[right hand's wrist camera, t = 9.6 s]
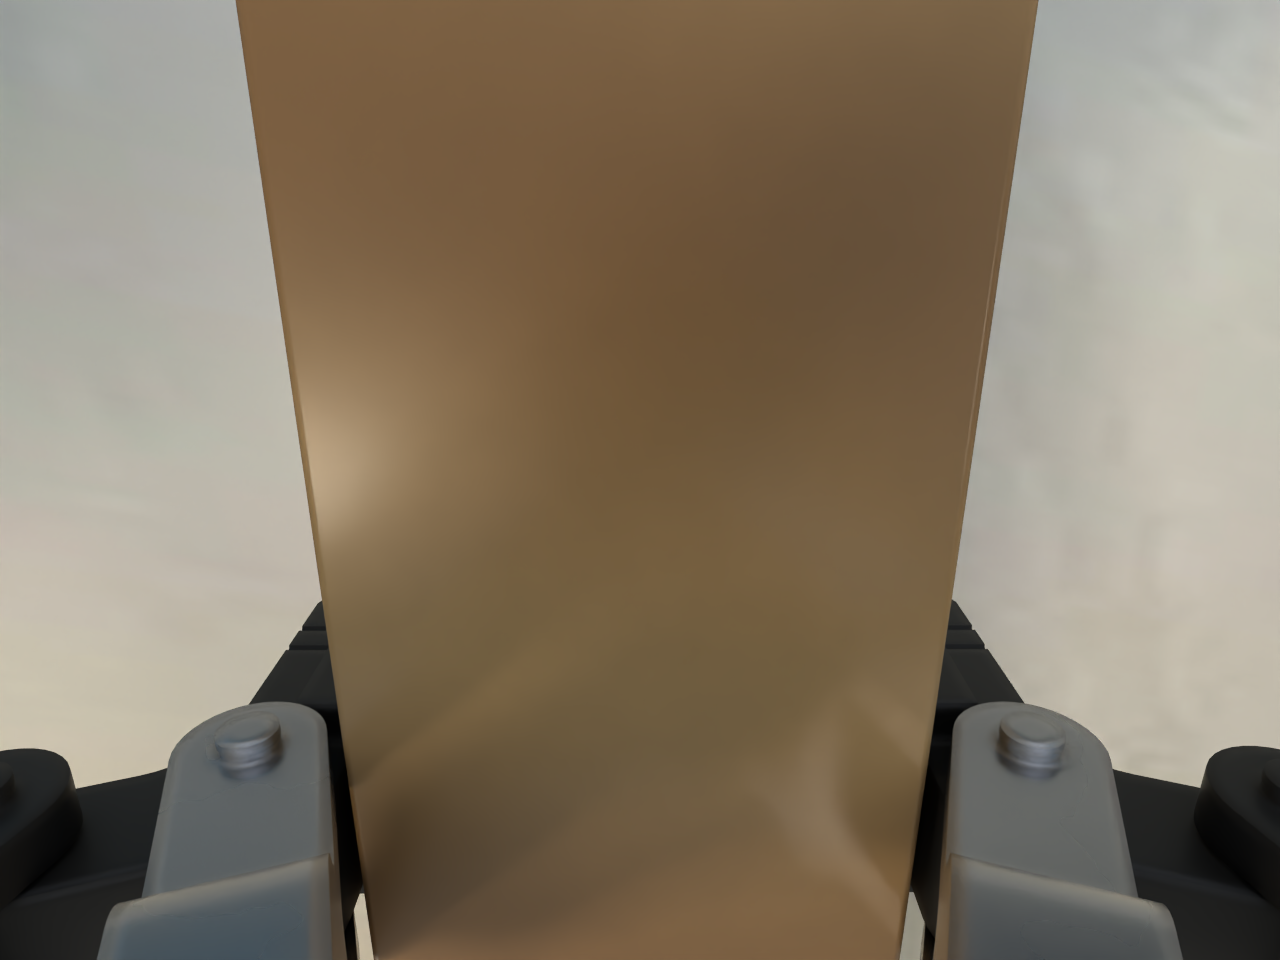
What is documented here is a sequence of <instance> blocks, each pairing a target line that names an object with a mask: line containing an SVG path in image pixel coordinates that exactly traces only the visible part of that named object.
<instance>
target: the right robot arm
mask: <svg viewBox="0 0 1280 960" xmlns="http://www.w3.org/2000/svg"><path fill="white" fill-rule="evenodd" d="M984 645H985V644H984V643H983V641H982V640H981V638H980V637H979V635H978V634H977V632H976V631H975V630H972V625H971V623H970V622H969V620H968V619H967V617H966V616H965V615H964V613H963V612H962V610H961V609H960V607H959V606H958V604H957V603H956V602H955V601H953V600H951V607H950V614H949V621H948V628H947V635H946V642H945V649H944V655H943V662H942V669H941V676H940V683H939V690H938V697H937V704H936V711H935V718H934V724H933V731H932V738H931V745H930V752H929V759H928V766H927V773H926V780H925V787H924V793H923V800H922V807H921V814H920V821H919V828H918V835H917V842H916V849H915V855H914V862H913V869H912V876H911V883H910V890H909V892H914V895H915V897H916V900H917V903H918V906H919V908H920V911H921V914H922V917H923V919H924V921H925V922H924V928H923V935H922V942H921V953H920V960H1280V749H1274V748H1269V747H1259V746H1239V747H1231V748H1227V749H1224V750H1221V751H1219V752H1217V753H1215V754H1214V755H1213V756H1212V757H1211V758H1210V759H1209V761H1208V763H1207V766H1206V769H1205V773H1204V777H1203V780H1202V784H1201V788H1198V787H1193V786H1188V785H1183V784H1178V783H1173V782H1168V781H1163V780H1158V779H1154V778H1149V777H1144V776H1139V775H1134V774H1130V773H1126V772H1122V771H1117V770H1114V769H1112V764H1111V759H1110V756H1109V754H1108V751H1107V750H1106V748H1105V747H1104V745H1103V744H1102V743H1101V742H1100V740H1099V739H1098V738H1097V737H1096V736H1095V735H1094V734H1092V733H1091V732H1090V731H1089V730H1088V729H1086V728H1085V727H1083V726H1082V725H1080V724H1079V723H1077V722H1075V721H1074V720H1072V719H1070V718H1068V717H1066V716H1064V715H1061V714H1059V713H1056V712H1054V711H1051V710H1048V709H1045V708H1042V707H1038V706H1034V705H1030V704H1025V703H1024V702H1023V700H1022V699H1021V698H1020V696H1019V695H1018V693H1017V692H1016V690H1015V689H1014V687H1013V686H1012V684H1011V683H1010V681H1009V680H1008V678H1007V677H1006V675H1005V674H1004V672H1003V671H1002V669H1001V668H1000V666H999V665H998V663H997V662H996V660H995V659H994V658H993V656H992V655H991V653H990V652H989V650H988V649H985V647H984ZM360 893H364V887H363V880H362V873H361V866H360V859H359V852H358V845H357V838H356V831H355V824H354V817H353V811H352V804H351V797H350V790H349V783H348V776H347V769H346V762H345V755H344V748H343V741H342V734H341V727H340V720H339V714H338V707H337V700H336V693H335V686H334V679H333V672H332V665H331V658H330V651H329V644H328V637H327V630H326V623H325V616H324V610H323V603H322V601H321V602H319V603H318V604H317V606H316V607H315V608H314V610H313V611H312V613H311V614H310V616H309V617H308V619H307V620H306V622H305V623H304V625H303V626H302V631H299V632H298V633H297V635H296V636H295V638H294V639H293V641H292V642H291V644H290V645H289V650H286V651H285V652H284V654H283V655H282V657H281V658H280V660H279V661H278V663H277V664H276V665H275V667H274V668H273V670H272V671H271V673H270V674H269V676H268V677H267V679H266V680H265V682H264V683H263V684H262V686H261V687H260V689H259V690H258V692H257V693H256V695H255V696H254V698H253V699H252V701H251V702H250V703H249V705H246V706H242V707H238V708H235V709H232V710H229V711H226V712H223V713H221V714H219V715H216V716H214V717H212V718H210V719H208V720H206V721H204V722H203V723H201V724H200V725H198V726H197V727H195V728H194V729H192V730H191V731H190V732H189V733H188V734H186V735H185V736H184V737H183V738H182V739H181V740H180V741H179V743H178V744H177V745H176V747H175V748H174V750H173V751H172V753H171V756H170V759H169V763H168V768H166V769H163V770H160V771H157V772H153V773H149V774H145V775H141V776H136V777H131V778H126V779H122V780H117V781H112V782H107V783H102V784H97V785H92V786H87V787H82V788H77V789H76V788H75V785H74V781H73V777H72V774H71V770H70V767H69V765H68V762H67V761H66V760H65V759H64V758H63V757H62V756H60V755H58V754H56V753H55V752H51V751H47V750H42V749H13V750H5V751H0V960H360V954H359V943H358V936H357V929H356V922H355V916H354V907H355V905H356V902H357V899H358V897H359V894H360Z"/></svg>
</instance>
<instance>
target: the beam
mask: <svg viewBox="0 0 1280 960" xmlns="http://www.w3.org/2000/svg"><path fill="white" fill-rule="evenodd" d="M236 6H237V13H238V20H239V27H240V34H241V41H242V48H243V55H244V62H245V69H246V76H247V83H248V90H249V96H250V103H251V110H252V117H253V124H254V131H255V138H256V145H257V152H258V159H259V166H260V173H261V180H262V187H263V194H264V200H265V207H266V214H267V221H268V228H269V235H270V242H271V249H272V256H273V263H274V270H275V277H276V284H277V291H278V298H279V304H280V311H281V318H282V325H283V332H284V339H285V346H286V353H287V360H288V367H289V374H290V381H291V388H292V395H293V402H294V408H295V415H296V422H297V429H298V436H299V443H300V450H301V457H302V464H303V471H304V478H305V485H306V492H307V499H308V506H309V512H310V519H311V526H312V533H313V540H314V547H315V554H316V561H317V568H318V575H319V582H320V589H321V596H322V603H323V610H324V616H325V623H326V630H327V637H328V644H329V651H330V658H331V665H332V672H333V679H334V686H335V693H336V700H337V707H338V714H339V720H340V727H341V734H342V741H343V748H344V755H345V762H346V769H347V776H348V783H349V790H350V797H351V804H352V811H353V817H354V824H355V831H356V838H357V845H358V852H359V859H360V866H361V873H362V880H363V887H364V894H365V901H366V908H367V915H368V921H369V928H370V935H371V942H372V949H373V956H374V960H899V959H900V952H901V945H902V938H903V931H904V924H905V918H906V911H907V904H908V897H909V890H910V883H911V876H912V869H913V862H914V855H915V849H916V842H917V835H918V828H919V821H920V814H921V807H922V800H923V793H924V787H925V780H926V773H927V766H928V759H929V752H930V745H931V738H932V731H933V724H934V718H935V711H936V704H937V697H938V690H939V683H940V676H941V669H942V662H943V655H944V649H945V642H946V635H947V628H948V621H949V614H950V607H951V600H952V593H953V586H954V580H955V573H956V566H957V559H958V552H959V545H960V538H961V531H962V524H963V517H964V511H965V504H966V497H967V490H968V483H969V476H970V469H971V462H972V455H973V448H974V442H975V435H976V428H977V421H978V414H979V407H980V400H981V393H982V386H983V379H984V373H985V366H986V359H987V352H988V345H989V338H990V331H991V324H992V317H993V310H994V304H995V297H996V290H997V283H998V276H999V269H1000V262H1001V255H1002V248H1003V241H1004V235H1005V228H1006V221H1007V214H1008V207H1009V200H1010V193H1011V186H1012V179H1013V172H1014V166H1015V159H1016V152H1017V145H1018V138H1019V131H1020V124H1021V117H1022V110H1023V103H1024V97H1025V90H1026V83H1027V76H1028V69H1029V62H1030V55H1031V48H1032V41H1033V34H1034V28H1035V21H1036V14H1037V7H1038V0H236Z"/></svg>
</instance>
